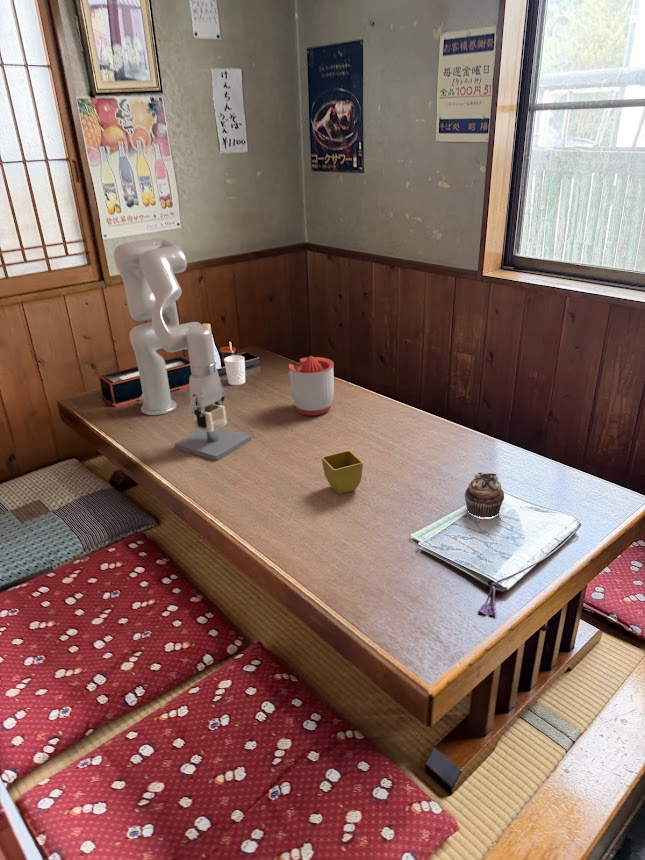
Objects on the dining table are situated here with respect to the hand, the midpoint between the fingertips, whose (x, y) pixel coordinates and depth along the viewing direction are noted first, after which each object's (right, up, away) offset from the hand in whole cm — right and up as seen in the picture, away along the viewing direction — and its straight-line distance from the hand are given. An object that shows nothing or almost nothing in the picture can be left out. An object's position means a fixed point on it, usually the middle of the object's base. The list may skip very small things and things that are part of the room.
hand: (210, 421), depth 200 cm
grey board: (0, -7, +3) cm, 8 cm away
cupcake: (+76, -23, -39) cm, 88 cm away
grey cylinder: (0, -6, +3) cm, 6 cm away
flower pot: (+41, -19, -25) cm, 52 cm away
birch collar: (0, -1, +1) cm, 1 cm away
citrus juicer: (+31, +5, +25) cm, 41 cm away
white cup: (+1, +16, +53) cm, 56 cm away
